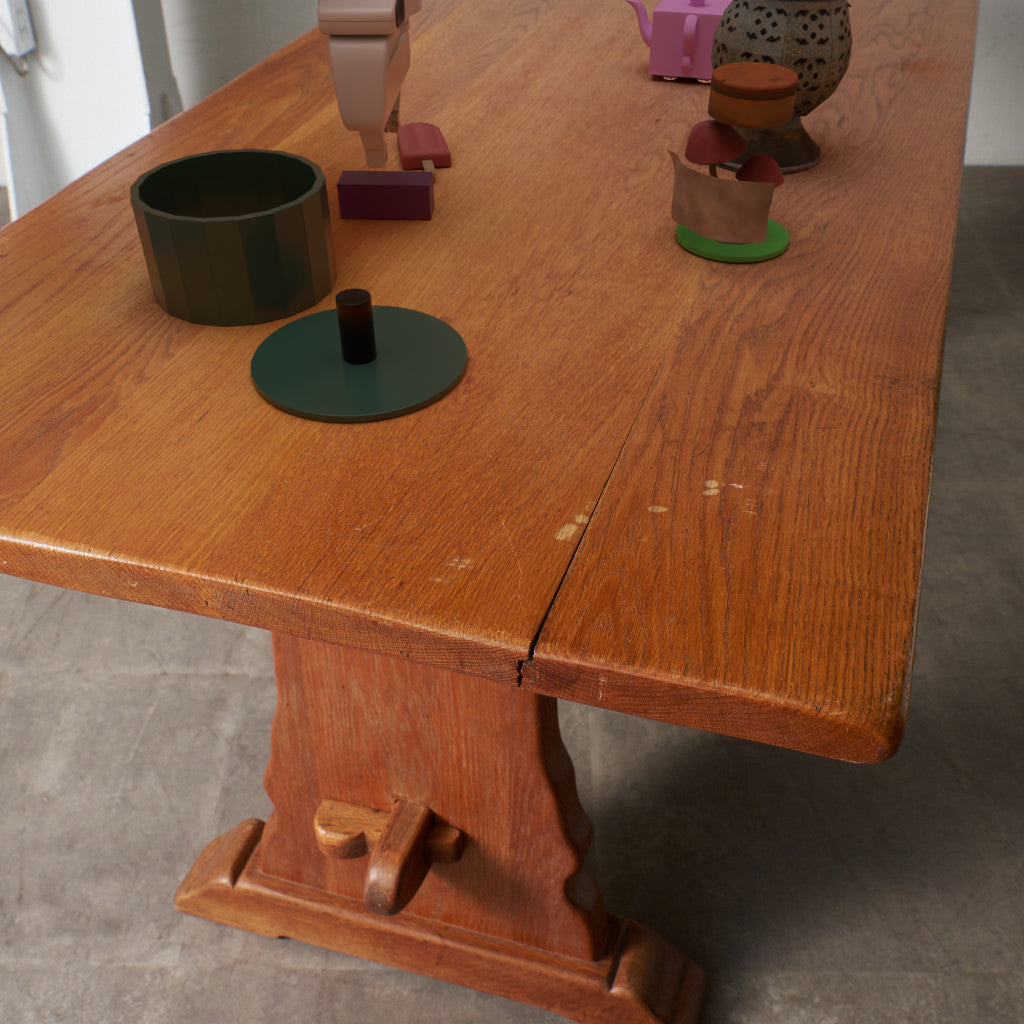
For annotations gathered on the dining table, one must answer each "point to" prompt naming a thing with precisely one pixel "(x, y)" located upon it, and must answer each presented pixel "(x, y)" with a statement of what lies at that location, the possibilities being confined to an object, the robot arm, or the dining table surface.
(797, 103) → the lantern
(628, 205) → the dining table surface
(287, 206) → the bin
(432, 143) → the popsicle
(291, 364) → the lid
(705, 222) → the mushroom toy stack
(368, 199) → the dark purple rectangular block
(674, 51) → the teapot
